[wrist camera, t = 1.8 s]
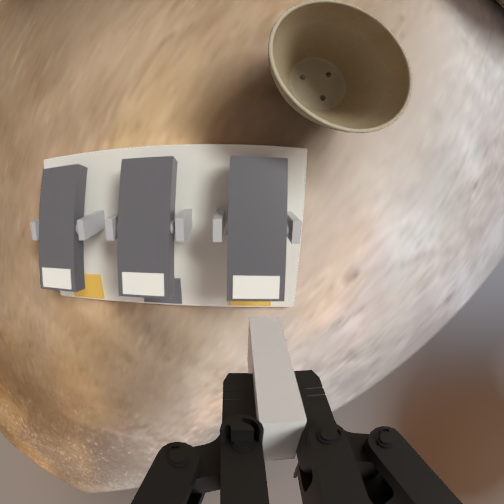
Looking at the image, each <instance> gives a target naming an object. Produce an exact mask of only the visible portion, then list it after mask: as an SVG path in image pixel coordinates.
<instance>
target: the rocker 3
mask: <svg viewBox="0 0 504 504" xmlns="http://www.w3.org/2000/svg"><path fill="white" fill-rule="evenodd" d="M287 198H288V158H276V157H257V156H230V173H229V202H228V221H225V235H228V242H227V301H284V297H285V274H286V245H287V237H288V234H289V224H288V222H287Z"/></svg>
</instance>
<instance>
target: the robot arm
mask: <svg viewBox="0 0 504 504" xmlns="http://www.w3.org/2000/svg"><path fill="white" fill-rule="evenodd" d="M248 372H249V373H229V374H228V375H227V377H226V378H225V380H224V381H223V412H222V424H221V428H220V435H219V437H218V438H217V439H216V440H214V441H213V442H211V443H208V444H205V445H200V446H195V447H192V446H191V445H188V444H186V443H182V442H174V443H169V444H167V445H165V446H163V447H162V448H161V450H160V451H159V452H158V454H157V456H156V458H155V460H154V462H153V463H152V465H151V467H150V469H149V471H148V473H147V475H146V477H145V478H144V480H143V482H142V484H141V486H140V488H139V490H138V491H137V493H136V495H135V497H134V499H133V501H132V503H131V504H201V503H202V500H203V497H204V495H205V493H206V492H211V491H215V490H219V489H220V504H269V498H268V489H267V481H266V472H265V463H264V461H267V460H268V461H269V460H282V459H294V458H295V455H296V453H297V457H298V465H297V467H296V469H295V472H294V478H296V477H297V475H298V480H299V486H300V490H301V496H302V502H303V504H462V503H461V501H460V500H459V499H458V498H457V497H456V496H455V495H454V494H453V493H452V492H451V491H450V489H449V488H448V487H447V486H446V485H445V484H444V483H443V481H442V480H441V479H440V478H439V477H438V476H437V475H436V474H435V473H434V471H433V470H432V469H431V468H430V467H429V466H428V465H427V464H426V462H424V460H423V459H422V458H421V457H420V456H419V455H418V454H417V452H416V451H415V450H414V449H413V448H412V447H411V446H410V444H409V443H408V442H407V441H406V440H405V439H404V438H403V437H402V435H401V434H400V433H399V432H398V431H396V430H395V429H394V428H391V427H384V426H382V427H378V428H375V429H374V430H373V431H372V432H371V433H370V434H358V433H351V432H347V431H345V430H343V428H342V427H340V426H339V425H337V424H336V422H335V420H334V417H333V414H332V412H331V409H330V406H329V403H328V400H327V398H326V395H325V392H324V389H323V388H322V384H321V381H320V378H319V377H318V376H317V375H316V374H315V373H314V372H313V371H312V370H306V371H294V369H293V366H292V362H291V358H290V355H289V351H288V347H287V344H286V340H285V336H284V333H283V329H282V325H281V322H280V318H279V317H249V336H248Z"/></svg>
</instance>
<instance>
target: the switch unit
mask: <svg viewBox="0 0 504 504" xmlns="http://www.w3.org/2000/svg"><path fill="white" fill-rule="evenodd" d="M162 156H174V158H175V159H176V160H177V161H178V164H177V180H176V199H175V234H174V288H175V294H174V295H173V296H172V297H171V298H170V299H159V298H142V297H126V296H119V291H118V267H117V222H118V199H119V184H120V173H121V163H122V159H129V158H143V157H162ZM230 156H257V157H276V158H288V198H287V222H288V224H289V234H288V237H287V245H286V274H285V297H284V301H227V242H228V235H225V221H228V202H229V173H230ZM73 164H80V165H82V166H85V167H87V168H88V170H87V180H86V191H85V206H84V217H82V218H80V219H78V220H77V227H78V236H79V240H84V277H85V289H83V290H80V291H78V292H69V291H60V293H61V295H62V296H70V297H79V298H89V299H99V300H111V301H123V302H136V303H152V304H169V305H192V306H225V307H294V300H295V291H296V282H297V273H298V264H299V254H300V243H301V232H302V221H303V208H304V195H305V180H306V164H307V149H305V148H294V147H281V146H265V145H241V144H182V145H159V146H143V147H131V148H120V149H111V150H102V151H94V152H87V153H80V154H73V155H67V156H61V157H55V158H50V159H45V160H44V169H47V168H53V167H60V166H66V165H73ZM30 224H31V232H32V238H33V240H39V219H36V220H34V221H31V222H30Z"/></svg>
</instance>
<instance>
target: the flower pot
mask: <svg viewBox="0 0 504 504" xmlns="http://www.w3.org/2000/svg"><path fill="white" fill-rule="evenodd" d="M268 58H269V66H270V70H271V74H272V77H273V80H274V82H275V84H276V87H277V88H278V90H279V92H280V94H281V95H282V96H283V98H284V99H285V100H286V102H287V103H288V104H289V105H290V106H291V107H292V108H293V109H294V110H295V111H297V112H298V113H299V114H301V115H302V116H304V117H305V118H307V119H309V120H310V121H312V122H314V123H316V124H319V125H321V126H324V127H327V128H330V129H334V130H338V131H344V132H354V133H367V132H373V131H377V130H380V129H383V128H385V127H387V126H389V125H391V124H392V123H393V122H395V121H396V120H397V119H398V118H399V117H400V116H401V115H402V113H403V112H404V110H405V109H406V107H407V105H408V102H409V99H410V96H411V91H412V73H411V68H410V64H409V61H408V58H407V56H406V53H405V51H404V49H403V48H402V46H401V44H400V43H399V41H398V40H397V38H396V37H395V36H394V34H393V33H392V32H391V31H390V30H389V29H388V28H387V27H386V26H385V25H384V24H383V23H382V22H381V21H380V20H378V19H377V18H376V17H374V16H373V15H371V14H370V13H368V12H366V11H365V10H363V9H361V8H359V7H356V6H354V5H351V4H348V3H344V2H340V1H336V0H312V1H306V2H303V3H300V4H297V5H295V6H293V7H291V8H290V9H288V10H287V11H286V12H284V13H283V14H282V15H281V16H280V17H279V19H278V20H277V21H276V23H275V24H274V26H273V28H272V31H271V34H270V37H269V44H268ZM326 73H328V75H326ZM300 78H303V79H304V80H302V79H300ZM323 96H324V97H325V99H323Z"/></svg>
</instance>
